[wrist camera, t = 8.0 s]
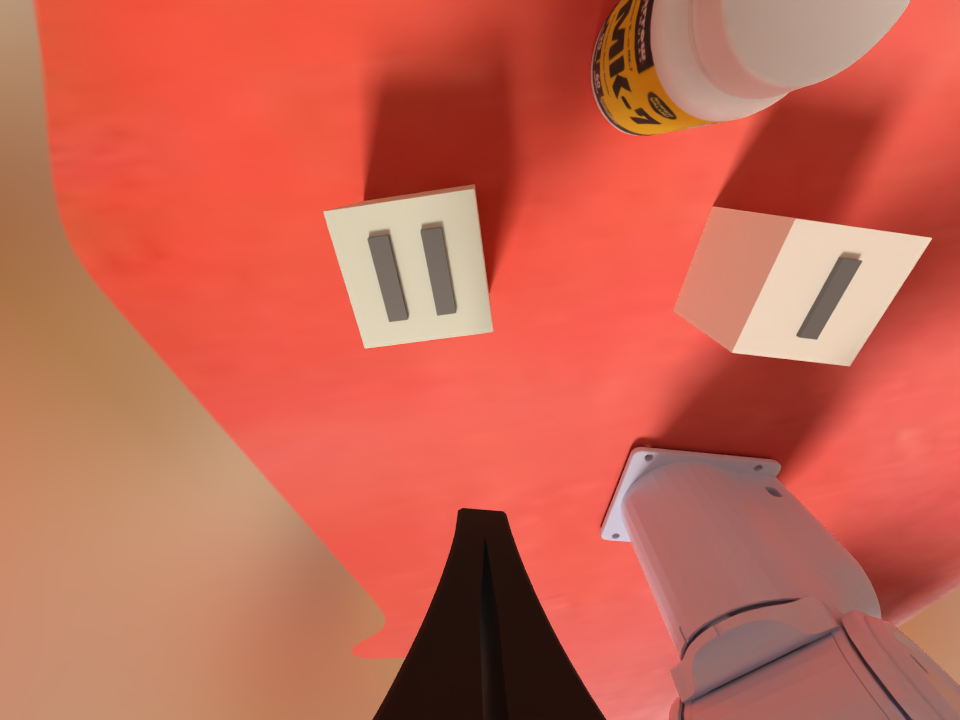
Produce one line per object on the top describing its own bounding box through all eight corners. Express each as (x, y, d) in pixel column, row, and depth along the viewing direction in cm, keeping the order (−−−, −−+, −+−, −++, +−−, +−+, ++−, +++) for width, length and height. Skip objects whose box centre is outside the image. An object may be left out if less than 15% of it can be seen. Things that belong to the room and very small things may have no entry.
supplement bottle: (570, 30, 14) (679, -134, 7) (697, -47, 13) (993, -338, 6) (609, 159, 16) (726, 150, 8) (721, 101, 15) (965, 32, 8)
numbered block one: (814, 220, 17) (938, 238, 13) (764, 321, 19) (854, 368, 15) (711, 206, 17) (800, 219, 12) (672, 310, 19) (734, 355, 15)
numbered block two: (474, 184, 16) (474, 188, 12) (489, 293, 19) (493, 333, 14) (364, 200, 17) (320, 212, 12) (391, 306, 19) (363, 350, 14)
